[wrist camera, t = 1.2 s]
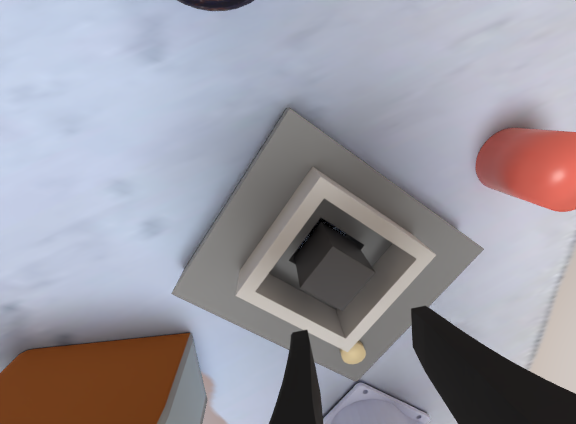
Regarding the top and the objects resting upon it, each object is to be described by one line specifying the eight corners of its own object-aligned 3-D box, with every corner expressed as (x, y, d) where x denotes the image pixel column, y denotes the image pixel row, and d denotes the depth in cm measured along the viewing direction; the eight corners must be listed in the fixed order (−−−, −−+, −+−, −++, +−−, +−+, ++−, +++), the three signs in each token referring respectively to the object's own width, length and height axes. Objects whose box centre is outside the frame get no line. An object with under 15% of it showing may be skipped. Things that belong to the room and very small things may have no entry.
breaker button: (357, 244, 19) (375, 272, 16) (330, 277, 20) (342, 311, 16) (320, 221, 18) (332, 246, 15) (294, 257, 19) (300, 288, 16)
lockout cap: (548, 150, 21) (630, 163, 16) (502, 199, 22) (567, 225, 17) (508, 114, 20) (585, 116, 15) (463, 168, 21) (520, 185, 16)
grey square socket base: (456, 231, 22) (516, 270, 17) (346, 352, 26) (367, 416, 20) (286, 108, 18) (294, 107, 13) (183, 270, 22) (156, 322, 16)
